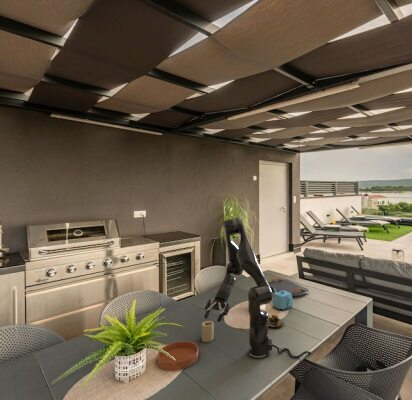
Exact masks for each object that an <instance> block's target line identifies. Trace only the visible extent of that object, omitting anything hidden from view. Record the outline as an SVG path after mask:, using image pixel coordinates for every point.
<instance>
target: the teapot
mask: <svg viewBox="0 0 412 400" xmlns="http://www.w3.org/2000/svg"><path fill="white" fill-rule="evenodd" d="M272 289H273V291H274V294H273V295H272V297H273V298H272V301H271V303H272V304H271V305H272V307H274V308H276V309H278V310H280V309H282V310H281V311H285V310H287V309H290V308H291V307H293V305H294V300H293V299H294V298H293V296H292V295H291V293H289V292H287V291H280V292H278V291H276V289H275V288H272ZM286 308H287V309H286Z"/></svg>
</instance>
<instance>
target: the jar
mask: <svg viewBox="0 0 412 400" xmlns="http://www.w3.org/2000/svg"><path fill="white" fill-rule="evenodd" d="M214 328H215V323H214V321H212V320H206V321H203V322H202V323H201V341H202V342H203V343H210V342H212V341H213V340H214V336H215V335H214V333H215V332H214V331H215V329H214Z"/></svg>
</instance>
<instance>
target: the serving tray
mask: <svg viewBox="0 0 412 400" xmlns="http://www.w3.org/2000/svg"><path fill="white" fill-rule="evenodd" d="M267 283H268V285H269V286H270V289H273V288H275V289H276V291H277V292H280V291H287V292H289V293H291V295H292V297H295V296H300V295H305V294H306V293H307V292H308V293H309V292H310V289H308V288H305V287H304V286H301V285H299V284H297V283H294V282H293V281H289V280H288V279H282V278H280V277H274V278H272V279H271V280H270V281H267Z"/></svg>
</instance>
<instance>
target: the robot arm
mask: <svg viewBox="0 0 412 400" xmlns="http://www.w3.org/2000/svg"><path fill="white" fill-rule="evenodd" d="M222 229H223V235H224V239H225V243H226V248H227V257H228V263H227V265H226V268H225V275H224V278H223V280H222V282H221V285H220V286H219V288H218V290H217V292H216V294H215V296H214V299H213V300H212V299H208V300H207V303H206V305H205V306H204V310H205V314H204V319H205V320H208V318H209V316H210V314H211V312H212V311H214V310H215V311H219V313H220V314H219V315H218V317H217V319H216V321H217V322H218V323H220V322H222V320H223V317H224V316H228V314H229V312H230V309H231V304H230V303H228V301H229V299H230V296H231V294H232V291H233V289H234V288H233V287H234V286H235V283H236V281H237V280H236V278H235V276H241V275H243V274H244V272H245V273H246V275H249V277H251V278H252V280H254V282H255V284H256V286H252V287H250V288H249V290H248V294H247V301H248V315H249V334H248V335H249V336H248V337H249V339H248V340H249V341H248V344H247V345H248V355H249V357H251V358H252V359H253V358H254V359H263V358H266V357H269V352H270V351H271V352H272V351H273V348H275V349H276V350H277V353H278V354H282V353H283V352H284V351H287V352H288V355H289V357H290V358H292V359H298V358H300V357H302V356H303V355H305V354H309V355H311V354H312V353H311V351H308V350H304V351H303V352H302V353H300V354H298V355H292V353H291V351H290V349H289V348H286V347H284V348H282V349H281V350H280V348H279V347H278V346H277V345H275V344H273V341H272V338H269V326H268V318H269V313H268V311H266V310H265V309H261V306H264V305H267V304H270V303H272V301H273V292H272V288H271V287H270V286H269V285H268V280H267V279H266V277H265V275H264V273H263V272H262V271H263V270H262V269H261V267H260V264H259V262H258V260H257V257H256V255H255V251H254V249H253V248H252V245H251V243H250V240H249V237H248V235H247V232H246V229H245V226H244V223H243V221H242V219H241V218H240V217H234V218H229V219H226V220H223V223H222ZM235 235H239V244H238V245H237V243H235V242H234V241H233V239H232V236H235ZM232 275H235V276H232Z"/></svg>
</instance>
